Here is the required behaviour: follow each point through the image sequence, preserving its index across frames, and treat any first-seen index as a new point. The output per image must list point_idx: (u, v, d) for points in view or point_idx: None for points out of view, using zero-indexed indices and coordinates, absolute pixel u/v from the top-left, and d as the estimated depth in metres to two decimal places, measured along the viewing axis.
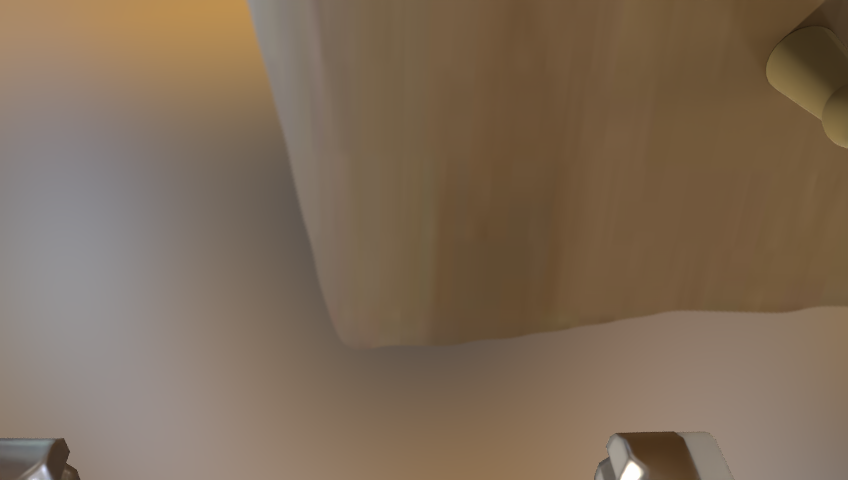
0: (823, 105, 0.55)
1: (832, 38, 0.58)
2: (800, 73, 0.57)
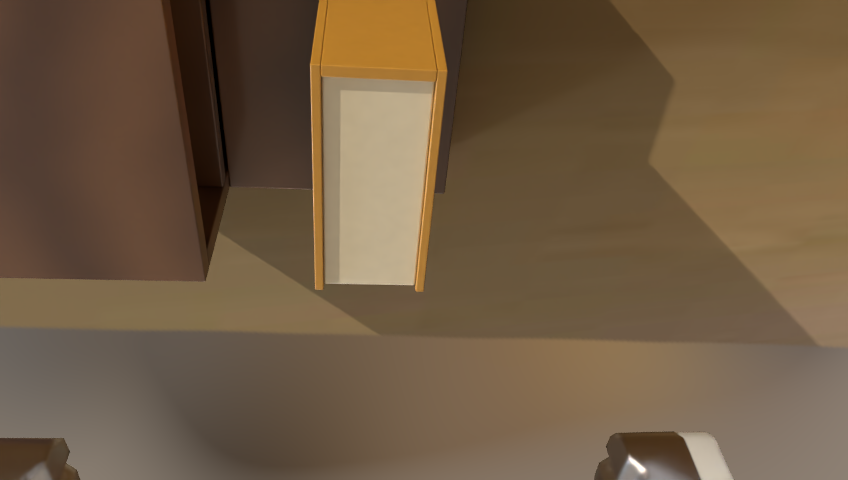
0: None
1: None
2: None
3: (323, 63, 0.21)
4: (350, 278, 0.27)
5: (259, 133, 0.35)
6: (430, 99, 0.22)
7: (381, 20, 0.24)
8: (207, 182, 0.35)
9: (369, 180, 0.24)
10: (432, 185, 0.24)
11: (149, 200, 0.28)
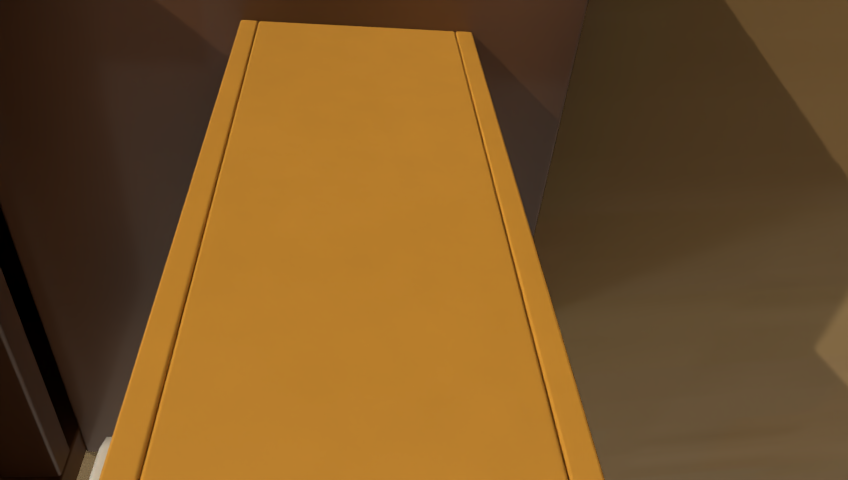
0: None
1: None
2: None
3: None
4: None
5: (131, 373, 0.18)
6: None
7: (368, 361, 0.07)
8: (27, 471, 0.18)
9: None
10: None
11: None
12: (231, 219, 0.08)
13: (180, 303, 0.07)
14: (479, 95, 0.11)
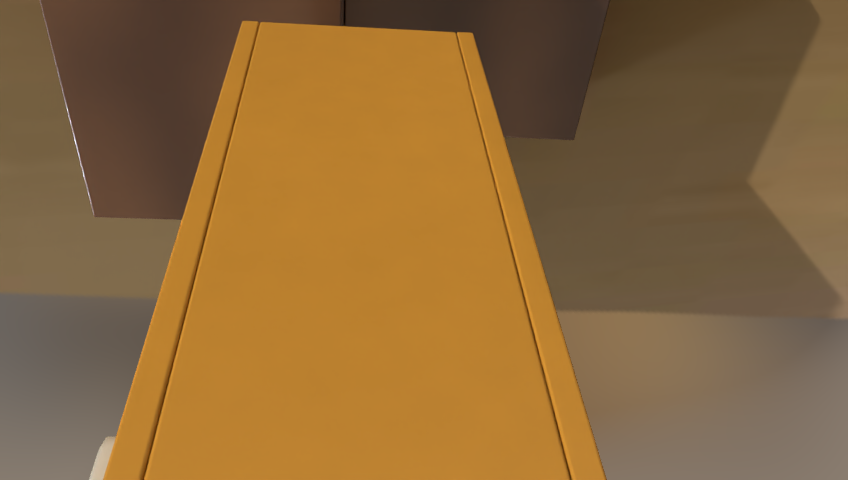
0: None
1: None
2: None
3: None
4: None
5: None
6: None
7: (371, 362, 0.07)
8: None
9: None
10: None
11: None
12: (233, 220, 0.08)
13: (183, 304, 0.07)
14: (480, 96, 0.11)
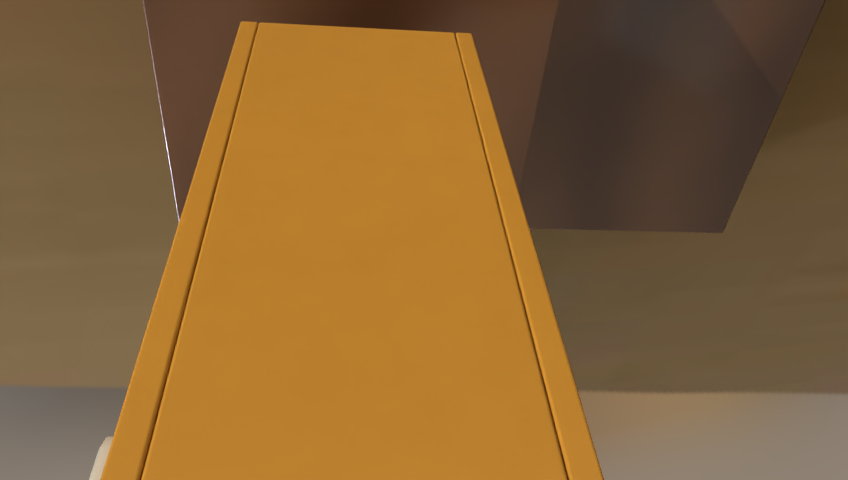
0: None
1: None
2: None
3: None
4: None
5: None
6: None
7: (368, 364, 0.07)
8: None
9: None
10: None
11: None
12: (231, 221, 0.08)
13: (180, 305, 0.07)
14: (479, 97, 0.11)
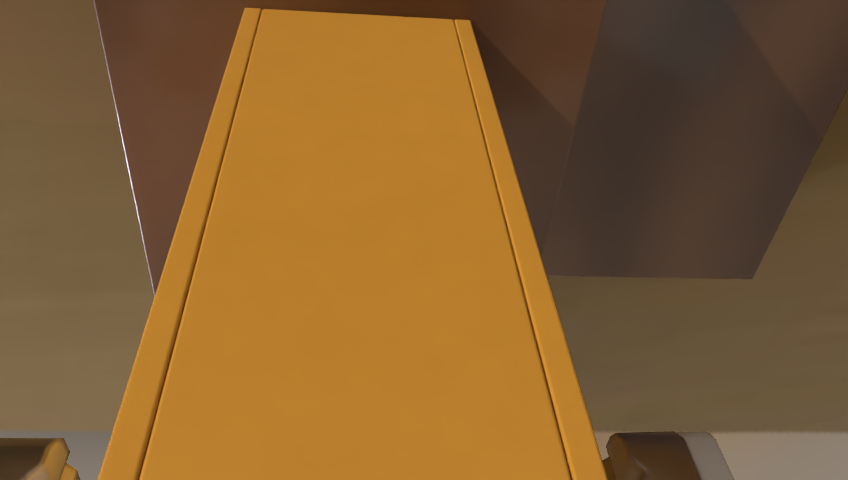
0: None
1: None
2: None
3: None
4: None
5: None
6: None
7: (368, 325, 0.07)
8: None
9: None
10: None
11: None
12: (237, 194, 0.08)
13: (188, 270, 0.07)
14: (477, 79, 0.11)
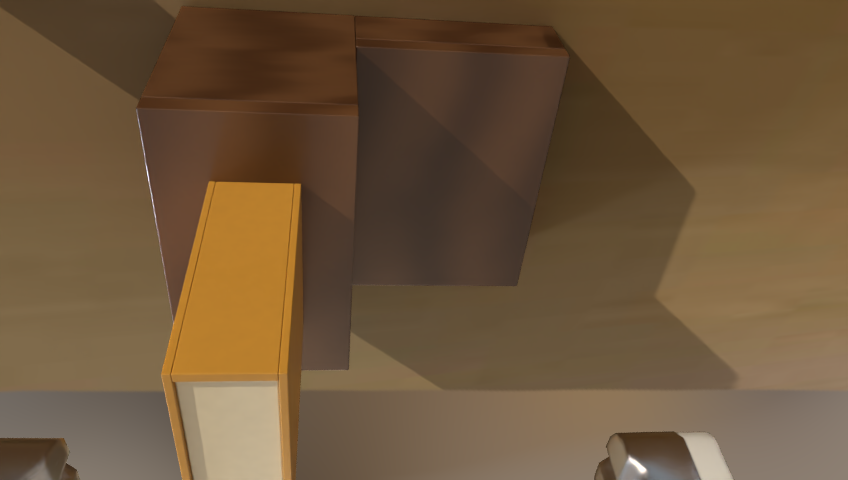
0: None
1: None
2: None
3: (173, 372, 0.23)
4: None
5: (377, 245, 0.44)
6: (276, 391, 0.24)
7: (238, 301, 0.26)
8: None
9: (229, 446, 0.26)
10: (288, 449, 0.26)
11: (318, 314, 0.37)
12: (203, 263, 0.27)
13: (189, 287, 0.26)
14: (294, 215, 0.30)
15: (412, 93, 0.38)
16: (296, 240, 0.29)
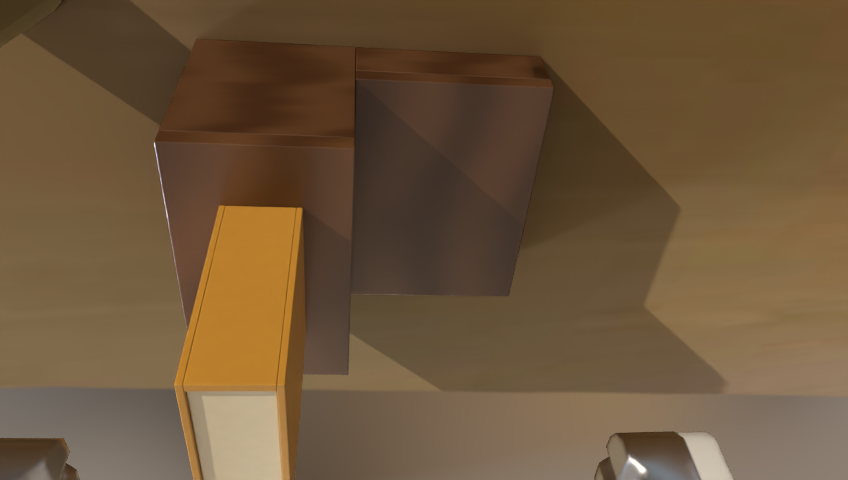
0: None
1: None
2: None
3: (185, 383, 0.26)
4: None
5: (377, 258, 0.47)
6: (274, 400, 0.27)
7: (243, 319, 0.29)
8: None
9: (234, 447, 0.29)
10: (286, 450, 0.29)
11: (319, 323, 0.40)
12: (213, 283, 0.31)
13: (200, 305, 0.30)
14: (295, 237, 0.33)
15: (407, 120, 0.41)
16: (296, 262, 0.32)
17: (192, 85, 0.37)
